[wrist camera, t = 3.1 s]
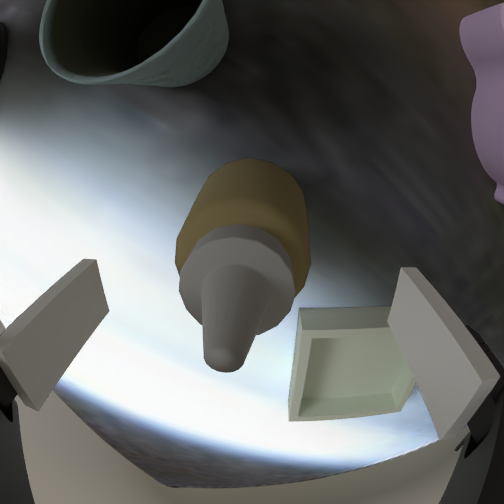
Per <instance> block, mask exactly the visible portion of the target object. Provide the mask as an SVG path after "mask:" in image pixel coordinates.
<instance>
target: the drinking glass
mask: <svg viewBox="0 0 504 504" xmlns="http://www.w3.org/2000/svg"><path fill="white" fill-rule="evenodd" d="M228 41H229V29H228V24H227V19H226V16H225V12H224V5H223V3H222V0H47V1H46V4H45V6H44V9H43V14H42V19H41V23H40V31H39V42H40V48H41V52H42V55H43V57H44V59H45V61H46V63H47V65H48V66H49V67H50V68H51V70H52V71H53V72H54V73H56V74H57V75H59V76H60V77H62V78H64V79H66V80H68V81H70V82H74V83H77V84H84V85H99V84H135V85H150V86H153V85H155V86H160V87H179V86H185V85H188V84H192V83H194V82H196V81H198V80H200V79H202V78H204V77H205V76H206V75H208V74H209V73H210V72H211V71H213V70H214V69H215V68H216V66H217V65H218V64H219V63H220V61H221V60H222V58H223V57H224V54H225V52H226V50H227V46H228Z"/></svg>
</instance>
